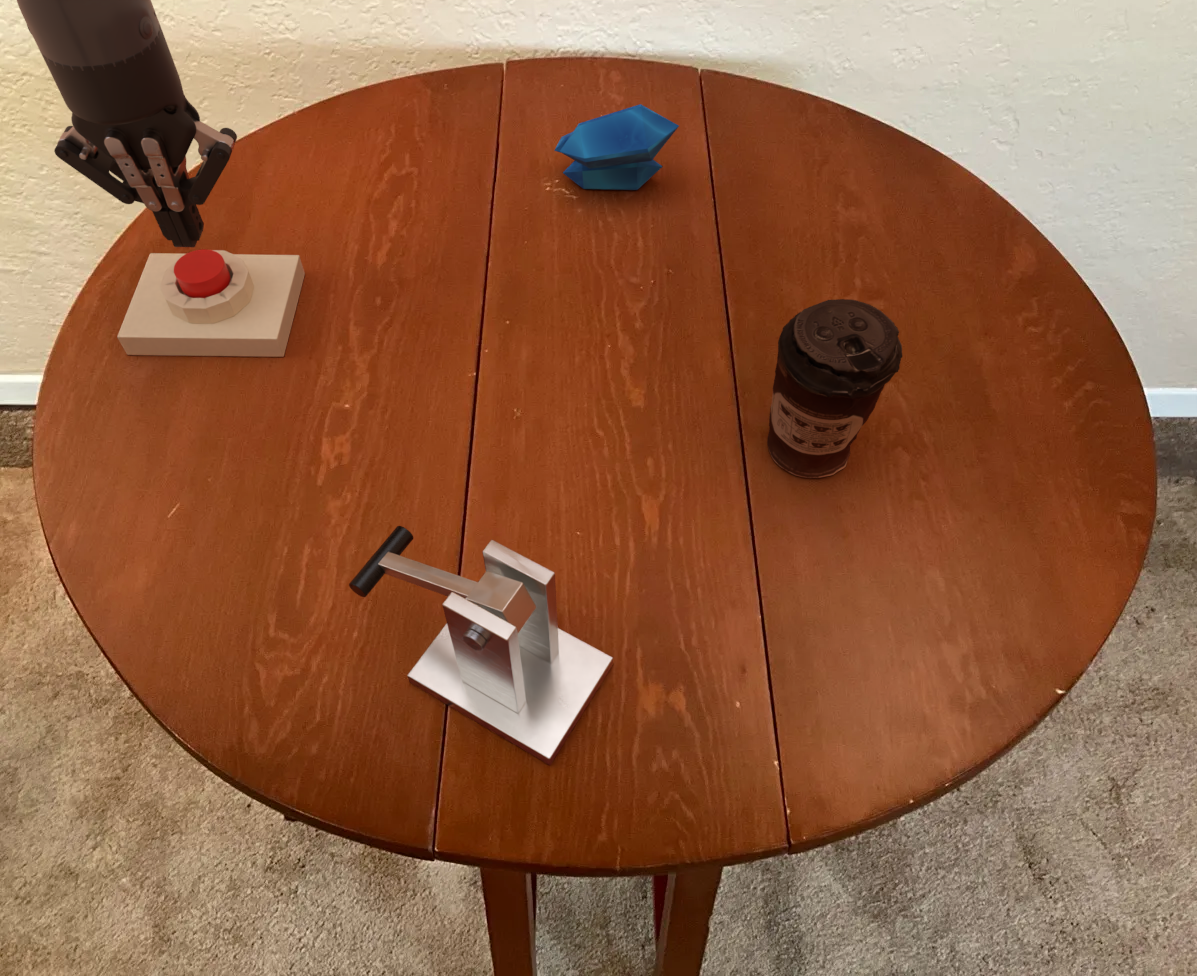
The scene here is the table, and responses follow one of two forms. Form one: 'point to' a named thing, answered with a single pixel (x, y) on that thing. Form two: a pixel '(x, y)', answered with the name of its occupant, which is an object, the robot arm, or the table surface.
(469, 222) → the table surface
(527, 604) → the lever
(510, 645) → the bracket
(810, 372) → the coffee cup
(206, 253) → the button
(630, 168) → the crystal
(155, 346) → the button box
